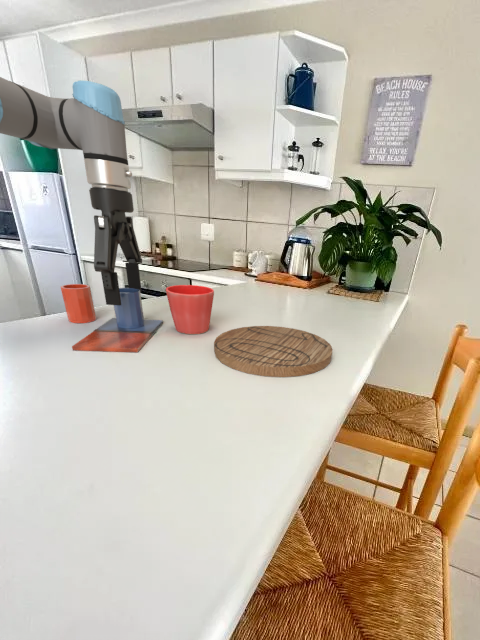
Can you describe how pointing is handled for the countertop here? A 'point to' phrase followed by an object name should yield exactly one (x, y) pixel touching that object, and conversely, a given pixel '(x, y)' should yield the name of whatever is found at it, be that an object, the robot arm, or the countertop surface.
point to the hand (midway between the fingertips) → (125, 297)
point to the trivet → (272, 351)
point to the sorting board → (118, 337)
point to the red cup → (78, 303)
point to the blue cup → (129, 309)
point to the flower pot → (190, 307)
